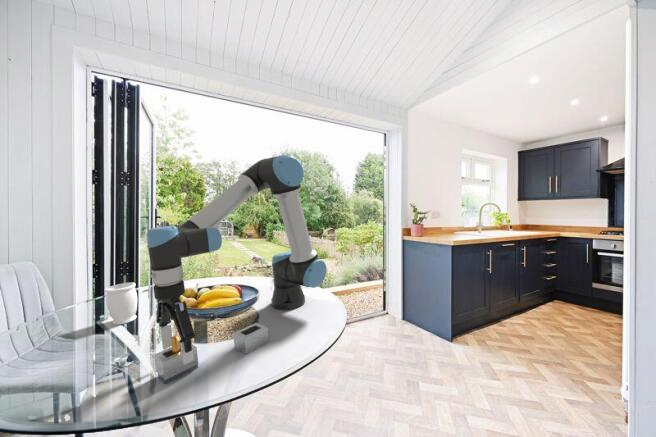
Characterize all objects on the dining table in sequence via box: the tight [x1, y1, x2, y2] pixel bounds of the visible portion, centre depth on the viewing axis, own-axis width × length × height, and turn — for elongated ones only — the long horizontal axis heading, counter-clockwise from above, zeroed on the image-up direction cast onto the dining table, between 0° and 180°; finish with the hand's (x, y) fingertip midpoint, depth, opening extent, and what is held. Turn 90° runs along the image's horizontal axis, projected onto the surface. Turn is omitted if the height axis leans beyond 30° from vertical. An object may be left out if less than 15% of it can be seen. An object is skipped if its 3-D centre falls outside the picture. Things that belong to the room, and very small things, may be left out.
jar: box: [104, 282, 138, 326], centre depth 121 cm, size 11×10×15 cm
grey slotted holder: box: [232, 322, 270, 355], centre depth 95 cm, size 9×6×5 cm
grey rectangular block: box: [153, 343, 199, 380], centre depth 82 cm, size 9×6×5 cm
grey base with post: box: [157, 335, 199, 385], centre depth 82 cm, size 9×5×10 cm, turn 140°
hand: (177, 354), depth 82 cm, fingers open, 13 cm apart
